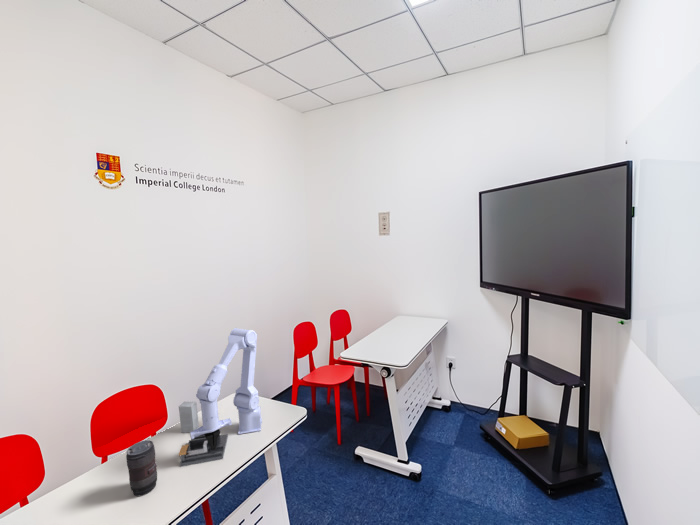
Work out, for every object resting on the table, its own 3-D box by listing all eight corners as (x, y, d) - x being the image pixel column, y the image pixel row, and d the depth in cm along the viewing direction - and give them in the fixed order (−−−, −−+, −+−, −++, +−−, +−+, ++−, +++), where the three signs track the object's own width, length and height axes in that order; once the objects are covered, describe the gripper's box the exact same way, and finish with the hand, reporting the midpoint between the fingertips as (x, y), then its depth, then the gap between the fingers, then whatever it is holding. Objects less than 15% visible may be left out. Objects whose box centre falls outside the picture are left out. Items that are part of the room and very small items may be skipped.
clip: (208, 451, 128) (207, 440, 127) (207, 455, 126) (206, 444, 125) (185, 455, 126) (184, 444, 126) (184, 459, 124) (183, 448, 123)
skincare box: (199, 427, 147) (197, 401, 145) (194, 432, 142) (191, 406, 141) (186, 426, 147) (184, 401, 146) (180, 432, 143) (178, 406, 142)
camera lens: (154, 475, 118) (150, 436, 116) (161, 487, 112) (157, 446, 111) (128, 488, 112) (123, 447, 111) (133, 502, 107) (128, 459, 105)
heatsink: (227, 436, 139) (227, 425, 138) (222, 458, 125) (221, 447, 125) (188, 443, 136) (187, 432, 135) (179, 466, 122) (178, 454, 121)
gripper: (227, 404, 133) (229, 436, 134) (187, 417, 125) (190, 450, 126) (231, 411, 127) (234, 444, 129) (190, 425, 119) (194, 461, 120)
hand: (213, 448), depth 127 cm, fingers closed
